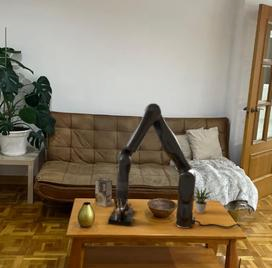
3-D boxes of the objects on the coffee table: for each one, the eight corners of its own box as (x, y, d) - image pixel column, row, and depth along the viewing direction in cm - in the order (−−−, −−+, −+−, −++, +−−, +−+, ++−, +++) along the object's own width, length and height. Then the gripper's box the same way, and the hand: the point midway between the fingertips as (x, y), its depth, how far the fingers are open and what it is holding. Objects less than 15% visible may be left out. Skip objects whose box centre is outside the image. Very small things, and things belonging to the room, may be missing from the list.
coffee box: (111, 204, 235) (113, 180, 233) (105, 207, 230) (106, 182, 227) (100, 201, 240) (101, 177, 237) (94, 203, 235) (95, 179, 232)
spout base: (133, 218, 215) (133, 213, 215) (130, 227, 203) (130, 222, 203) (112, 216, 217) (112, 211, 216) (107, 225, 205) (107, 219, 204)
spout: (125, 214, 213) (125, 206, 212) (127, 215, 211) (128, 207, 211) (114, 217, 208) (115, 209, 207) (116, 219, 206) (117, 210, 205)
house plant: (212, 218, 223) (215, 193, 220) (189, 215, 225) (192, 190, 222) (211, 209, 237) (214, 185, 234) (190, 207, 239) (192, 183, 236)
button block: (133, 211, 227) (133, 205, 226) (130, 216, 218) (131, 210, 217) (115, 209, 228) (116, 203, 227) (112, 214, 219) (113, 208, 218)
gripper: (135, 190, 204) (133, 219, 207) (120, 183, 214) (118, 211, 217) (125, 192, 199) (123, 222, 202) (110, 185, 209) (108, 214, 212)
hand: (121, 216), depth 209 cm, fingers closed on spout, 2 cm apart
